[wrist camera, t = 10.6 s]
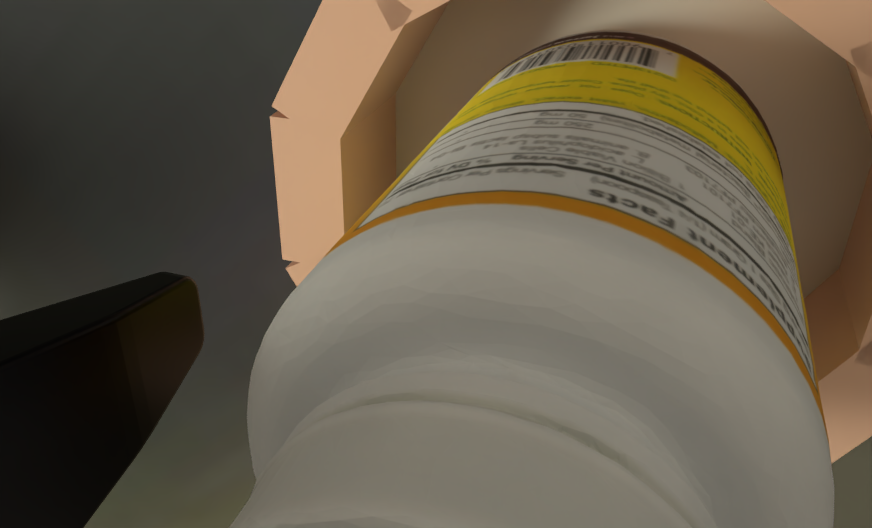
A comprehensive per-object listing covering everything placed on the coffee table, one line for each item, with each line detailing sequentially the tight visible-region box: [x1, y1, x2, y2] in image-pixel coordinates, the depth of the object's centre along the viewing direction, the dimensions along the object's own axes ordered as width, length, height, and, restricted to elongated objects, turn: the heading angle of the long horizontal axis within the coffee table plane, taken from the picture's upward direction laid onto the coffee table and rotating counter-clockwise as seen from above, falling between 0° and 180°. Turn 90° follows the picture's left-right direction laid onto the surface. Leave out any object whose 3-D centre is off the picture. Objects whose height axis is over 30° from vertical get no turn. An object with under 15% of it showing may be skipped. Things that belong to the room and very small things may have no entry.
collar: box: [270, 0, 872, 464], centre depth 13 cm, size 12×12×4 cm
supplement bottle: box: [229, 30, 834, 528], centre depth 10 cm, size 6×6×10 cm
